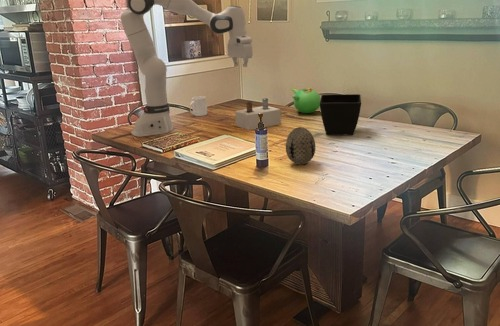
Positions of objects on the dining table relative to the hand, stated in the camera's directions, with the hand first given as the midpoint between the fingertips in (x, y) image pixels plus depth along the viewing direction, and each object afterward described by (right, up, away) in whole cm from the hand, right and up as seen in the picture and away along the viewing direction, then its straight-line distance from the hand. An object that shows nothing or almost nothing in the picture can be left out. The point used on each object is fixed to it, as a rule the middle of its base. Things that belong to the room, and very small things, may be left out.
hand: (240, 66), depth 238 cm
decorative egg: (+25, -51, -55) cm, 79 cm away
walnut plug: (+5, -26, +6) cm, 28 cm away
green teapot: (+38, -21, +30) cm, 53 cm away
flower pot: (+49, -35, -14) cm, 62 cm away
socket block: (+9, -30, +10) cm, 32 cm away
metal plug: (+13, -24, +11) cm, 30 cm away
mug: (-27, -21, +41) cm, 53 cm away
